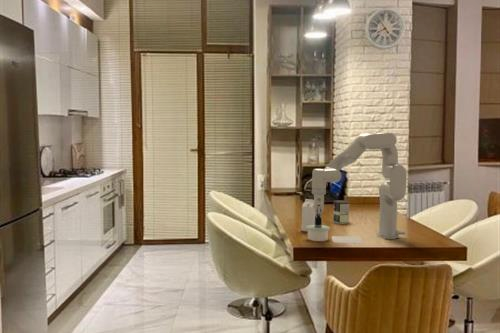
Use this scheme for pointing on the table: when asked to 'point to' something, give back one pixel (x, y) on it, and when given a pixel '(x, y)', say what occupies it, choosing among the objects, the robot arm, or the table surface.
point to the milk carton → (308, 214)
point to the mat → (347, 239)
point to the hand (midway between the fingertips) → (318, 223)
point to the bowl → (318, 235)
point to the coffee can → (341, 212)
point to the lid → (318, 227)
